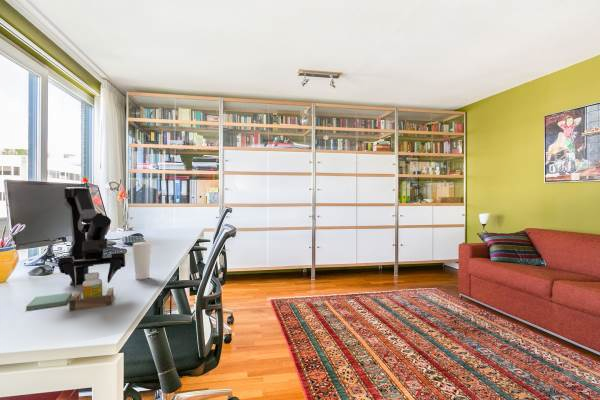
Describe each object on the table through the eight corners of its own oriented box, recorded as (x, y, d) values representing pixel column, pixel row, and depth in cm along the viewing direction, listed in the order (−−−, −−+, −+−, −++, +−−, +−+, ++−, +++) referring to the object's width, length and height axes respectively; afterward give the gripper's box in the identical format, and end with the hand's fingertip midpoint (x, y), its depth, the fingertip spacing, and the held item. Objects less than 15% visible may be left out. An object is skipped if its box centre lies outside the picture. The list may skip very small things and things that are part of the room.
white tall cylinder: (137, 276, 137) (136, 242, 137) (153, 276, 137) (153, 241, 137) (130, 280, 130) (129, 244, 130) (147, 280, 131) (146, 244, 130)
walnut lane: (75, 301, 106) (75, 292, 106) (113, 295, 111) (113, 287, 111) (69, 311, 97) (69, 301, 97) (111, 305, 102) (110, 295, 102)
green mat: (35, 300, 107) (35, 297, 107) (71, 295, 112) (71, 292, 112) (26, 310, 98) (26, 306, 98) (65, 304, 103) (65, 300, 103)
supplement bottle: (92, 306, 100) (92, 276, 100) (78, 305, 101) (77, 275, 101) (106, 300, 106) (105, 272, 105) (92, 300, 107) (92, 271, 107)
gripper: (58, 232, 102) (50, 274, 93) (124, 229, 111) (123, 266, 101) (64, 253, 110) (57, 293, 100) (125, 248, 118) (125, 285, 108)
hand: (91, 284), depth 102 cm, fingers open, 9 cm apart
